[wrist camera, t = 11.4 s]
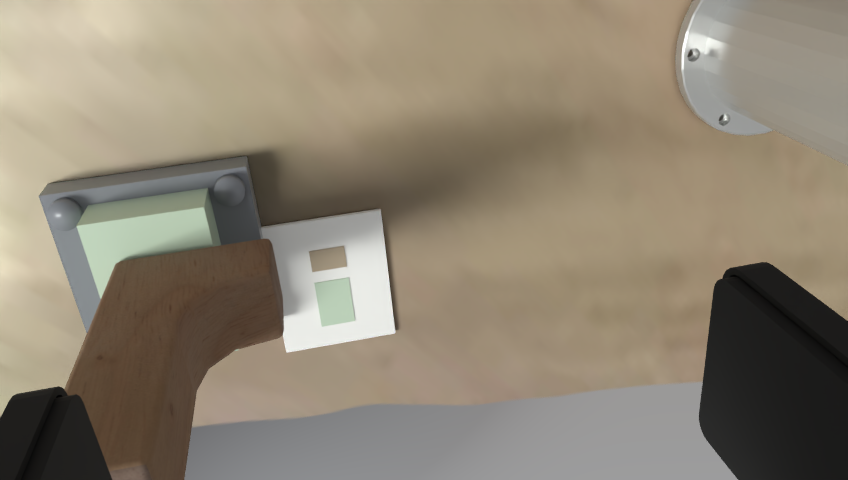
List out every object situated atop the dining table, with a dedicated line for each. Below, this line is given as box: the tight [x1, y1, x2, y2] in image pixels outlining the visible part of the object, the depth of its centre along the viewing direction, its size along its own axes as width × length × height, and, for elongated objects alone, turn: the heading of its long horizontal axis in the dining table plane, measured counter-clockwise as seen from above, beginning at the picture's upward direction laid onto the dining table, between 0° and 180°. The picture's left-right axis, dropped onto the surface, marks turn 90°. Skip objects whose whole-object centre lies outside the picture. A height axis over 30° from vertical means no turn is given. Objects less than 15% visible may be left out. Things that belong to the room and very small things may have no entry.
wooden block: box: [64, 239, 284, 480], centre depth 35 cm, size 9×4×18 cm, turn 95°
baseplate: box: [39, 156, 263, 351], centre depth 45 cm, size 12×12×5 cm
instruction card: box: [261, 209, 395, 353], centre depth 50 cm, size 8×10×1 cm
